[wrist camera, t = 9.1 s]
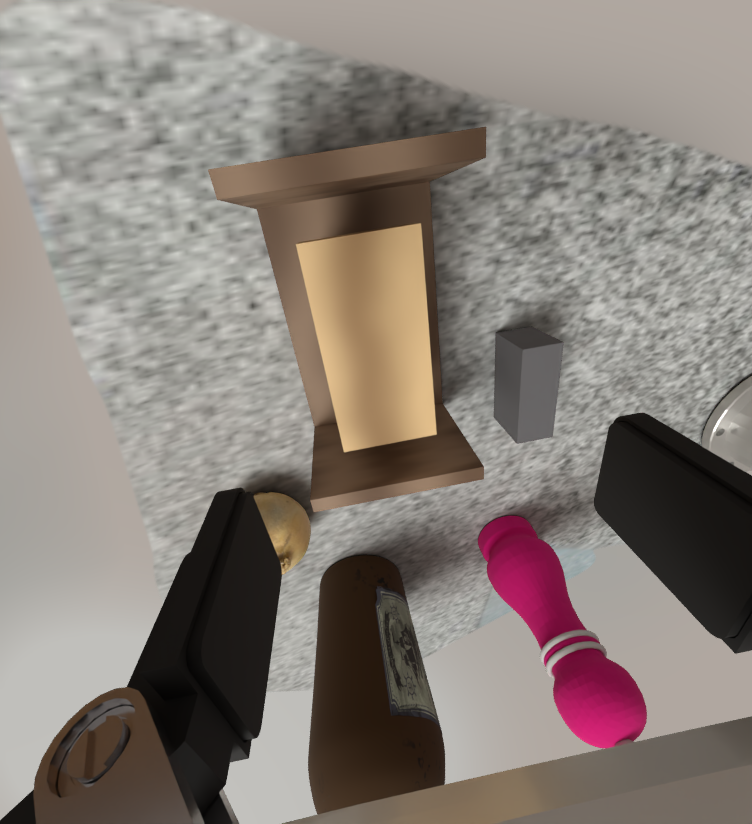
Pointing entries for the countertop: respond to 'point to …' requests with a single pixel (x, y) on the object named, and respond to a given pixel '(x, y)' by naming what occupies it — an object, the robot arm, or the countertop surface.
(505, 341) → the block
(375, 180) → the shelf cradle
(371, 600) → the olive oil
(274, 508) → the onion
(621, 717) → the pepper mill
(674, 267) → the countertop surface
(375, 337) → the oak board
